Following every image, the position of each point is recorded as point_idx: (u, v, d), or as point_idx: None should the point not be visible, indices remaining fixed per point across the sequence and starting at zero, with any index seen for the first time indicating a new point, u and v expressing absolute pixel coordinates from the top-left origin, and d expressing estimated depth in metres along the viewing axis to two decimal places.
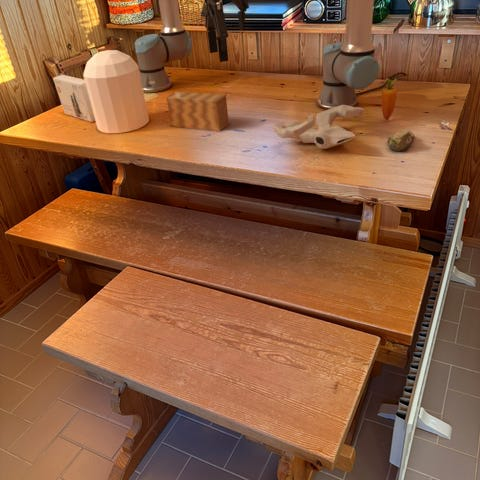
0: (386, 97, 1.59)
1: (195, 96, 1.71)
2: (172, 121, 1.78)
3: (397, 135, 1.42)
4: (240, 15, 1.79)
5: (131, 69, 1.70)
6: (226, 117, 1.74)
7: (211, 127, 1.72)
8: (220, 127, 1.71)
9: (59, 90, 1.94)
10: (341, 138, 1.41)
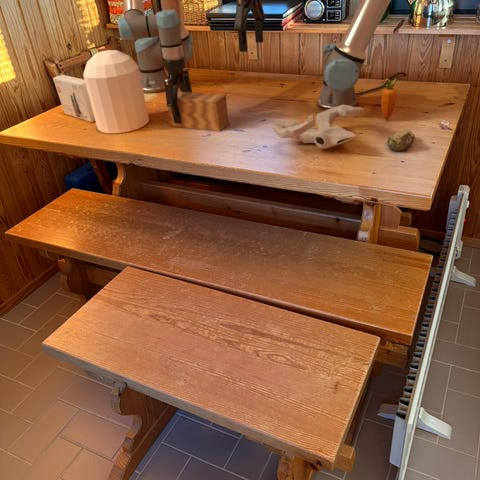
0: (386, 97, 1.59)
1: (195, 96, 1.71)
2: (172, 121, 1.78)
3: (397, 135, 1.42)
4: None
5: (131, 69, 1.70)
6: (226, 117, 1.74)
7: (211, 127, 1.72)
8: (220, 127, 1.71)
9: (59, 90, 1.94)
10: (341, 138, 1.41)
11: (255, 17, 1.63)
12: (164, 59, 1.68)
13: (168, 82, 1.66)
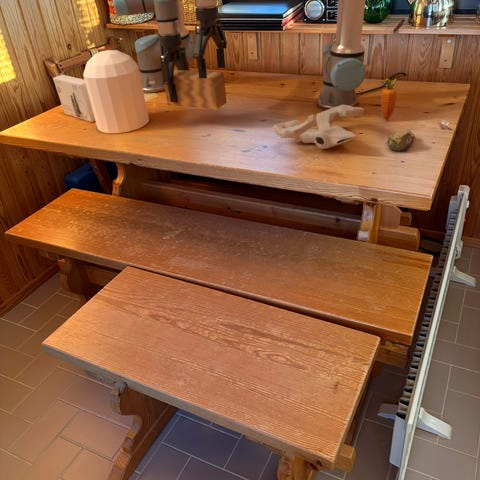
0: (386, 97, 1.59)
1: (192, 74, 1.67)
2: (168, 100, 1.74)
3: (397, 135, 1.42)
4: None
5: (131, 69, 1.70)
6: (224, 95, 1.69)
7: (208, 106, 1.67)
8: (218, 105, 1.67)
9: (59, 90, 1.94)
10: (341, 138, 1.41)
11: (216, 43, 1.64)
12: (160, 35, 1.63)
13: (164, 58, 1.61)
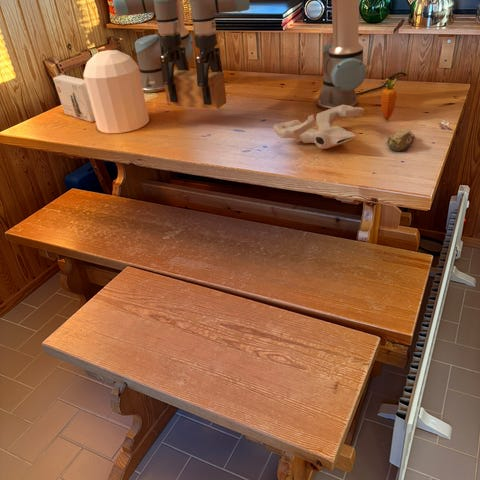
0: (386, 97, 1.59)
1: (192, 74, 1.67)
2: (168, 100, 1.74)
3: (397, 135, 1.42)
4: None
5: (131, 69, 1.70)
6: (224, 95, 1.69)
7: (208, 106, 1.67)
8: (218, 105, 1.67)
9: (59, 90, 1.94)
10: (341, 138, 1.41)
11: None
12: (160, 35, 1.63)
13: (164, 58, 1.61)
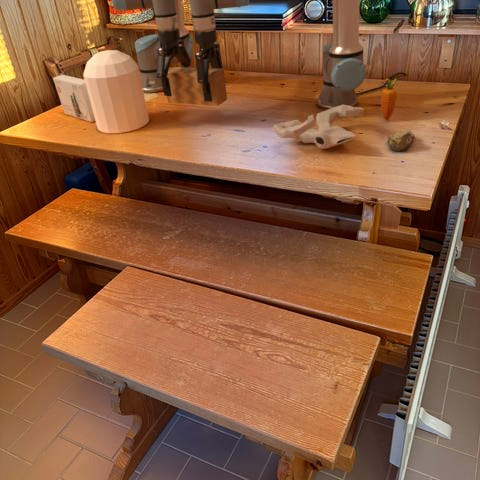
0: (386, 97, 1.59)
1: (192, 71, 1.66)
2: (169, 97, 1.73)
3: (397, 135, 1.42)
4: None
5: (131, 69, 1.70)
6: (224, 92, 1.68)
7: (209, 103, 1.67)
8: (218, 102, 1.66)
9: (59, 90, 1.94)
10: (341, 138, 1.41)
11: None
12: None
13: (162, 50, 1.60)
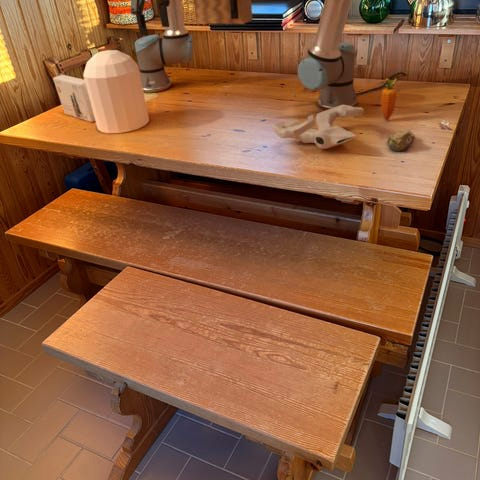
0: (386, 97, 1.59)
1: None
2: (197, 18, 1.83)
3: (397, 135, 1.42)
4: (163, 11, 1.66)
5: (131, 69, 1.70)
6: (250, 12, 1.77)
7: (235, 21, 1.76)
8: (244, 20, 1.75)
9: (59, 90, 1.94)
10: (341, 138, 1.41)
11: None
12: None
13: None
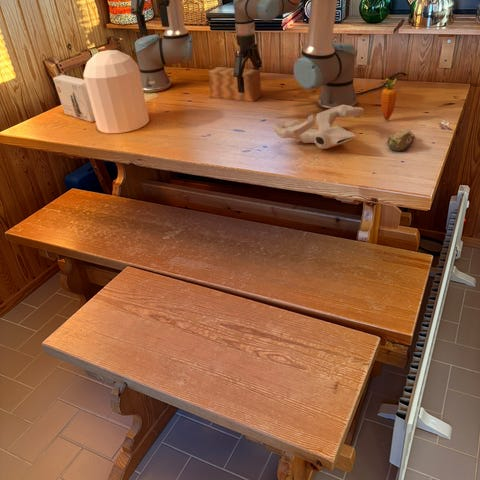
0: (386, 97, 1.59)
1: (233, 71, 1.96)
2: (212, 92, 2.04)
3: (397, 135, 1.42)
4: (163, 11, 1.66)
5: (131, 69, 1.70)
6: (259, 90, 1.98)
7: (245, 98, 1.97)
8: (254, 98, 1.96)
9: (59, 90, 1.94)
10: (341, 138, 1.41)
11: (253, 63, 1.97)
12: None
13: None
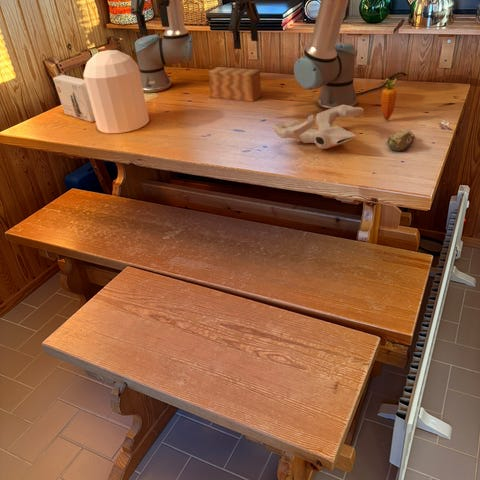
0: (386, 97, 1.59)
1: (233, 71, 1.96)
2: (212, 92, 2.04)
3: (397, 135, 1.42)
4: (163, 11, 1.66)
5: (131, 69, 1.70)
6: (259, 90, 1.98)
7: (245, 98, 1.97)
8: (254, 98, 1.96)
9: (59, 90, 1.94)
10: (341, 138, 1.41)
11: (250, 19, 1.87)
12: None
13: None
